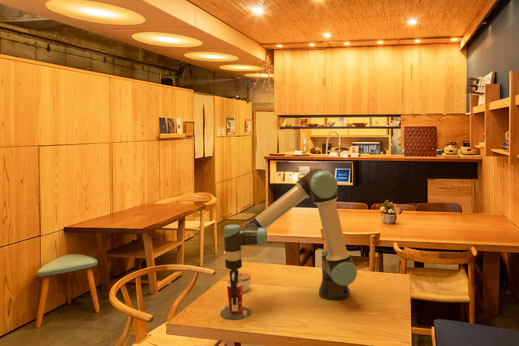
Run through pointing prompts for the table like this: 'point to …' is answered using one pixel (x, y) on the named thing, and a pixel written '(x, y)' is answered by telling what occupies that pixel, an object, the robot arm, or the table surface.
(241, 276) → the lidded jar
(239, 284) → the paper cup
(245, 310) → the pad
